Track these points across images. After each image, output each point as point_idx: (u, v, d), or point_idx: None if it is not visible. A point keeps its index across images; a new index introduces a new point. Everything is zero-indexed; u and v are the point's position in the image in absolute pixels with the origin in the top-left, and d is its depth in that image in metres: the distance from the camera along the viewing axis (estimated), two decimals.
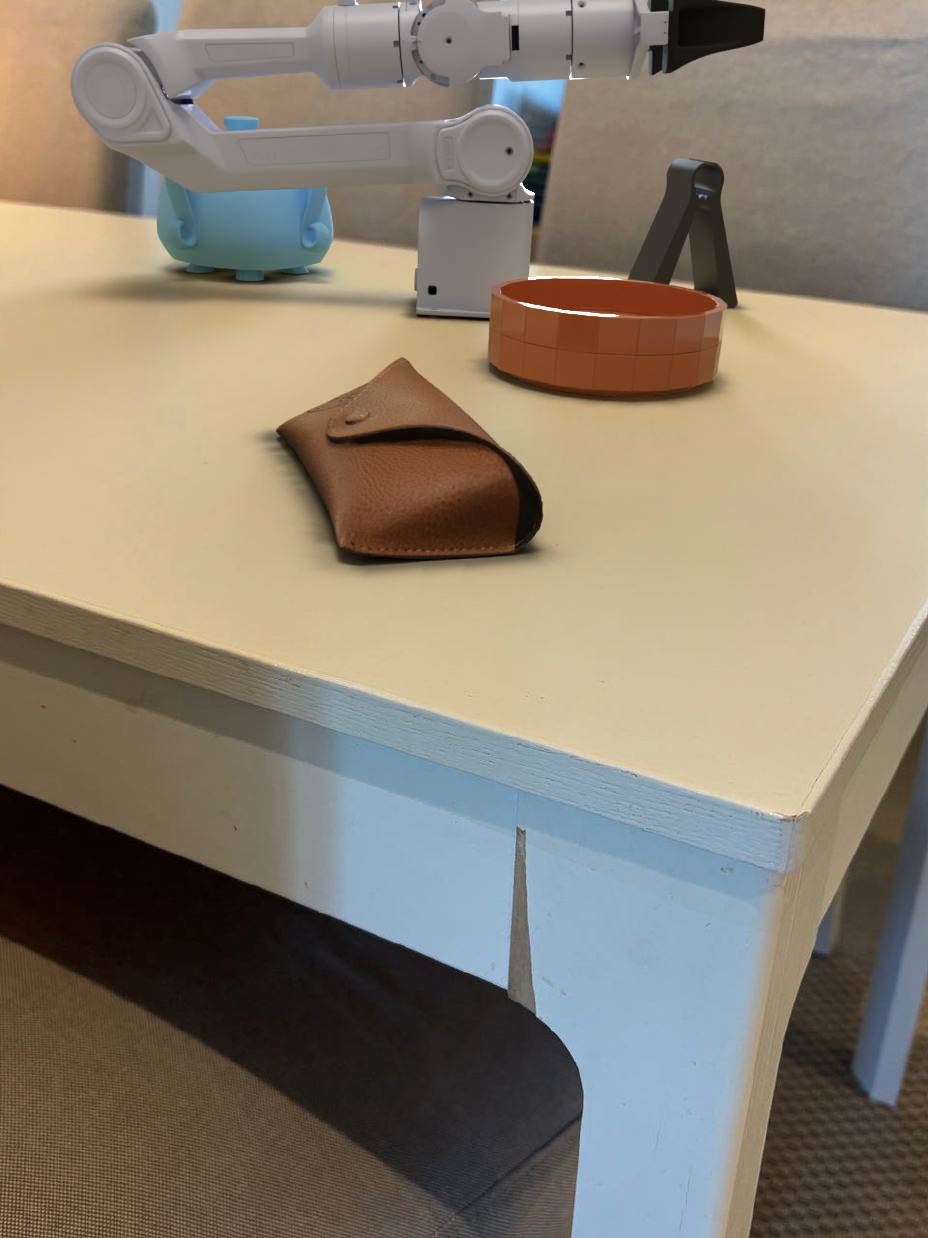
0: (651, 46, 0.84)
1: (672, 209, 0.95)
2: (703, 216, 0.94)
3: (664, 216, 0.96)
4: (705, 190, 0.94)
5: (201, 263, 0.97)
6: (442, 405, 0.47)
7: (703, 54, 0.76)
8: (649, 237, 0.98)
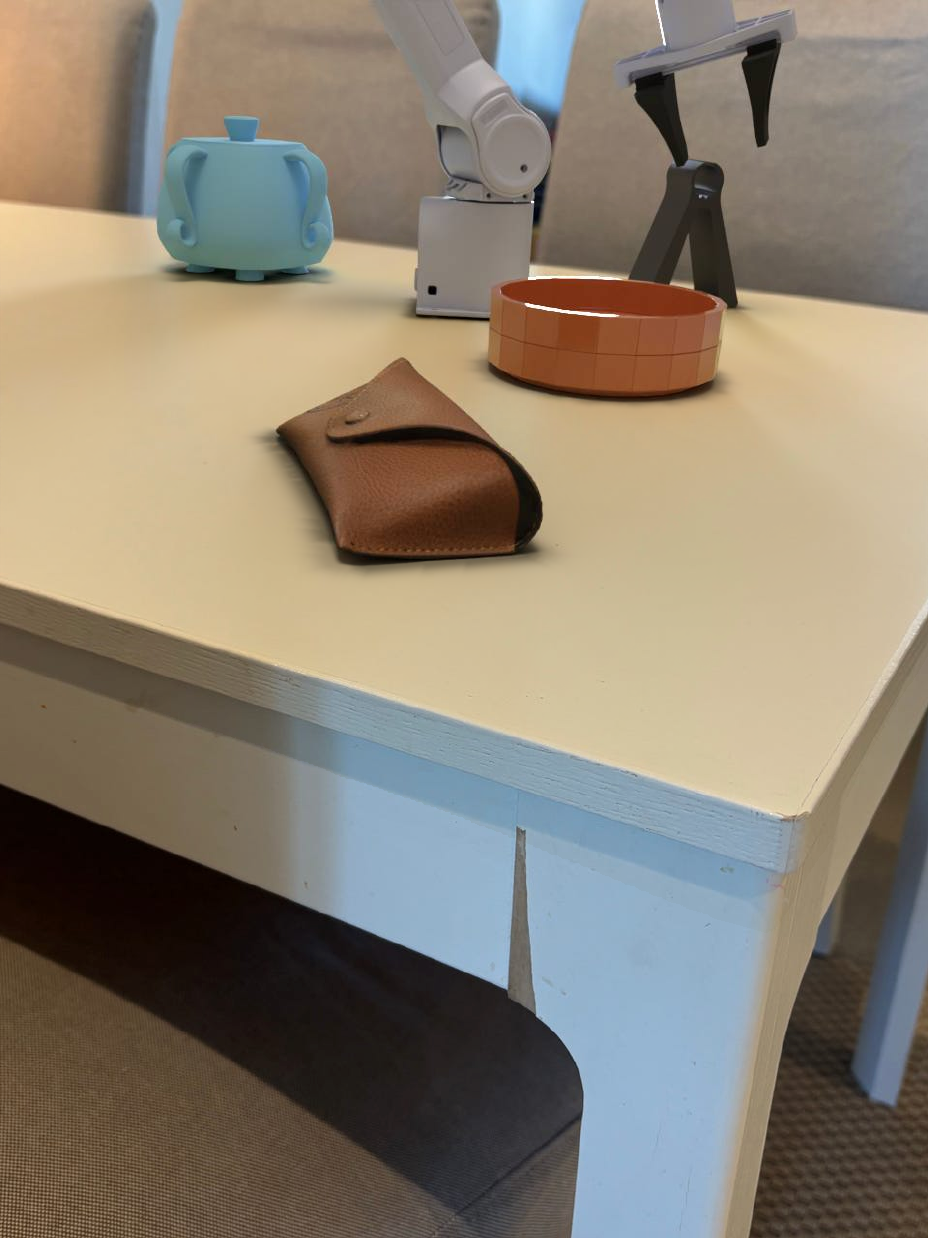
0: (664, 80, 0.88)
1: (672, 209, 0.95)
2: (703, 216, 0.94)
3: (664, 216, 0.96)
4: (705, 190, 0.94)
5: (201, 263, 0.97)
6: (442, 405, 0.47)
7: (768, 89, 0.85)
8: (649, 237, 0.98)
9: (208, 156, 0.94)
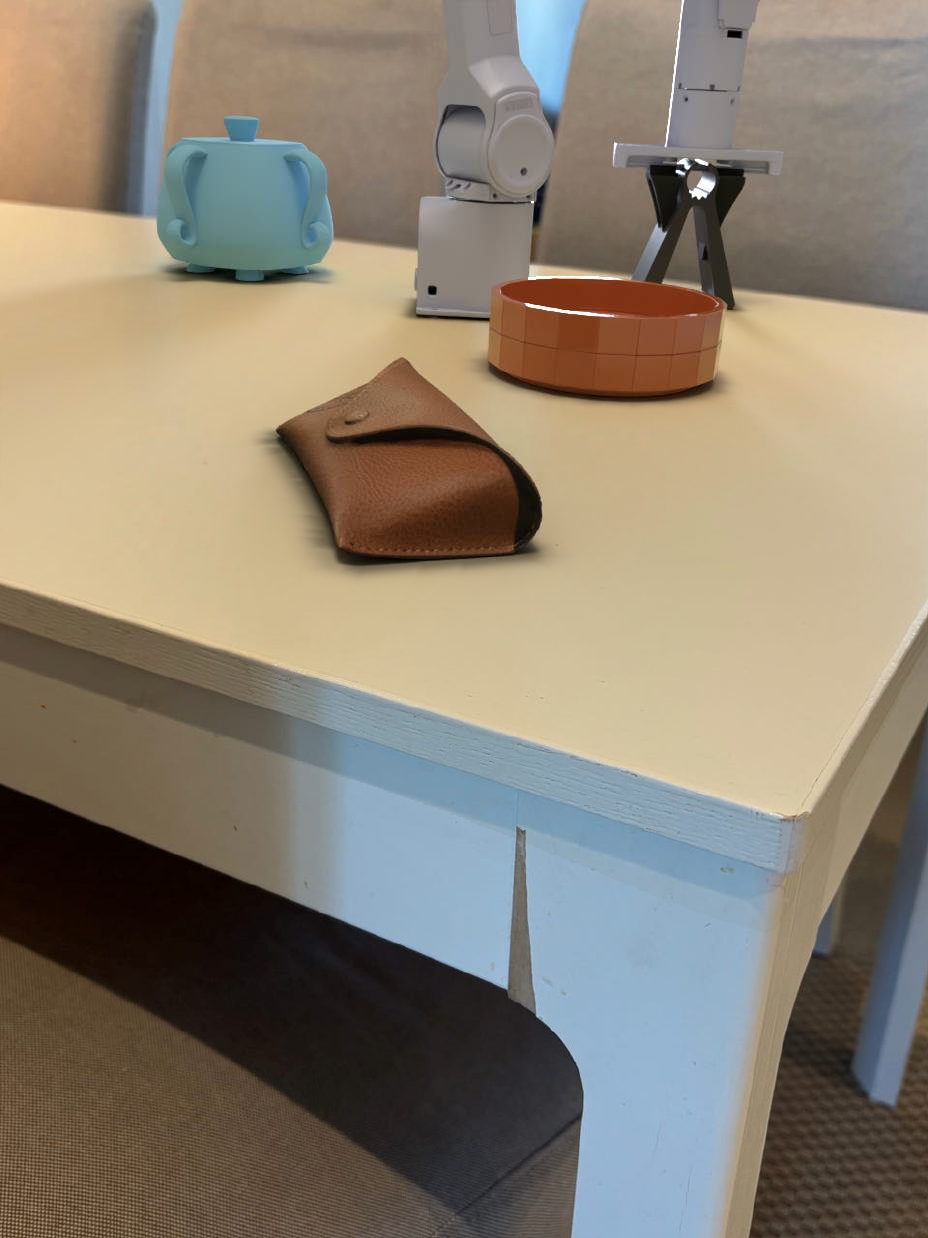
0: None
1: None
2: (701, 216, 0.94)
3: None
4: (704, 190, 0.94)
5: (201, 263, 0.97)
6: (442, 405, 0.47)
7: (729, 209, 0.93)
8: (652, 236, 0.98)
9: (208, 156, 0.94)
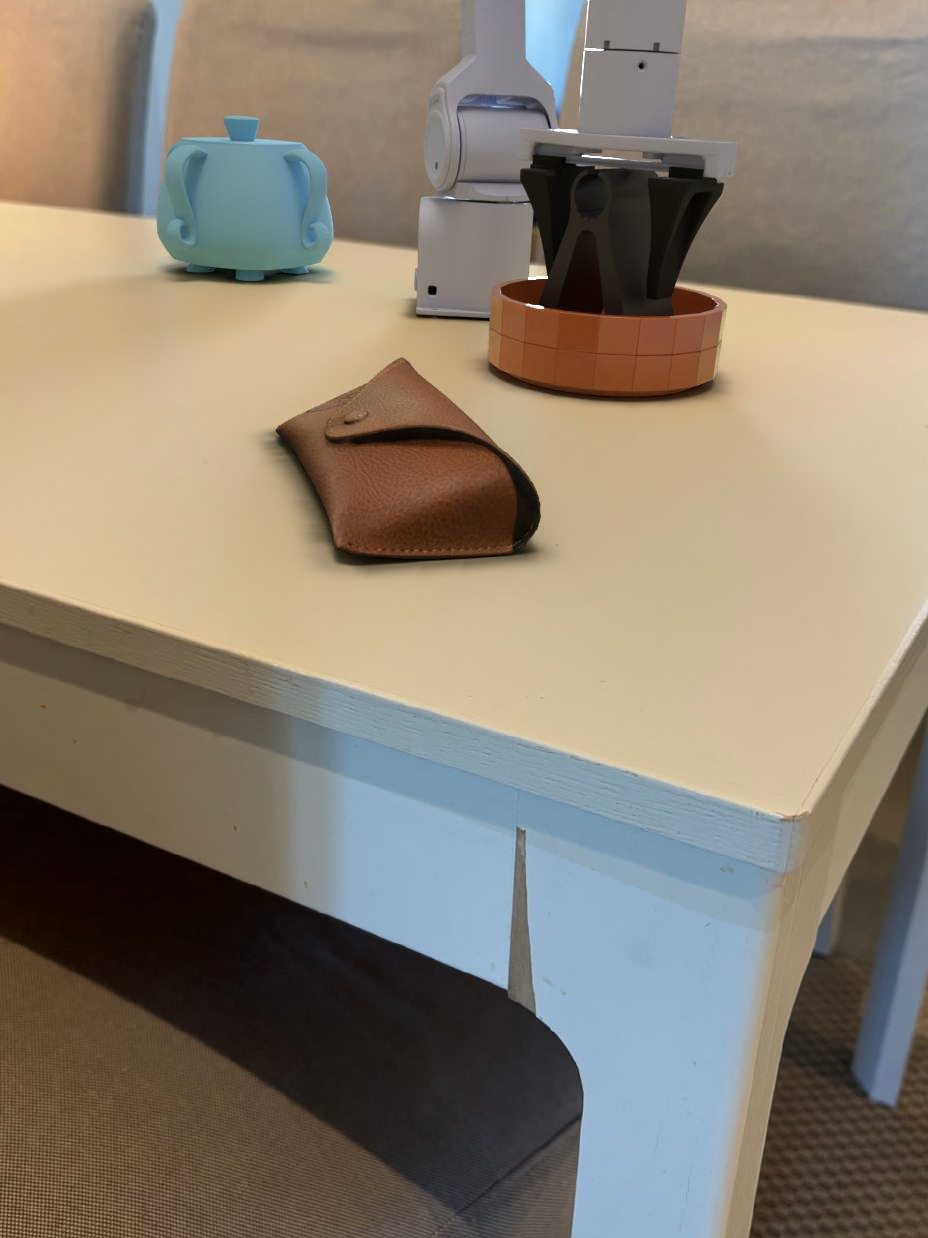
0: (563, 168, 0.68)
1: None
2: None
3: None
4: None
5: (201, 263, 0.97)
6: (441, 405, 0.47)
7: (673, 227, 0.63)
8: None
9: (208, 156, 0.94)
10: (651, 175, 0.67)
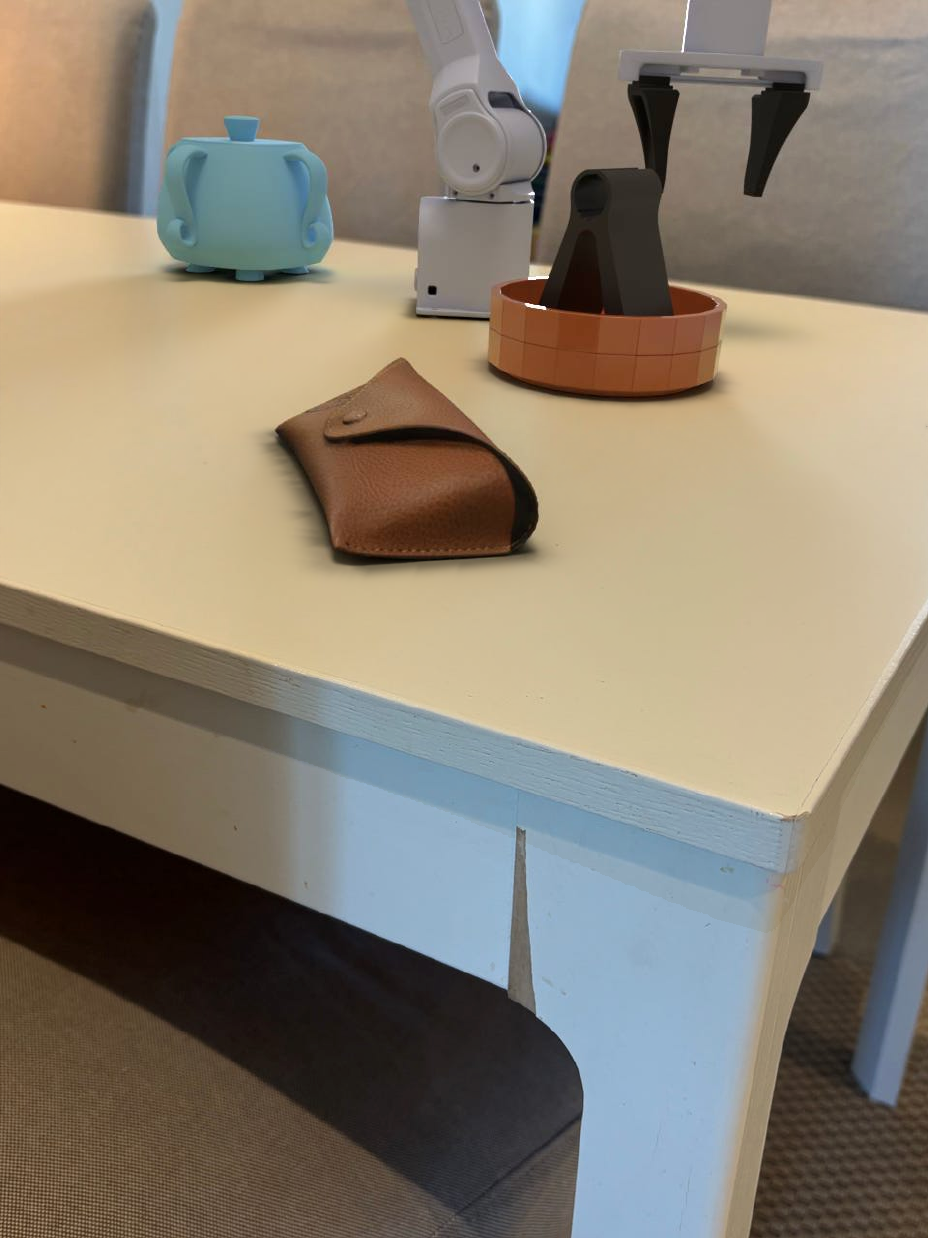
0: None
1: None
2: None
3: None
4: None
5: (201, 263, 0.97)
6: (439, 405, 0.47)
7: (789, 133, 0.77)
8: None
9: (208, 156, 0.94)
10: (651, 175, 0.67)
